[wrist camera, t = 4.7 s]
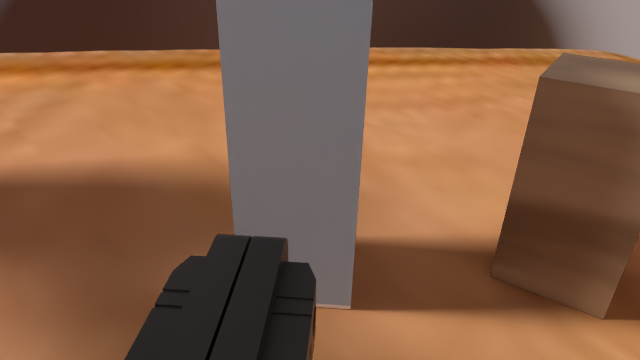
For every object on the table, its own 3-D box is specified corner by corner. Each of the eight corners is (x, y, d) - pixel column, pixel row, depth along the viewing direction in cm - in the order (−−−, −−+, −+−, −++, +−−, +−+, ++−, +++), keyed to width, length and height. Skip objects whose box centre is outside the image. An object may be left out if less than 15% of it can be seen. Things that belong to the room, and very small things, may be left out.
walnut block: (603, 319, 21) (694, 102, 16) (489, 275, 23) (539, 76, 18) (615, 261, 24) (692, 71, 20) (516, 229, 27) (563, 52, 22)
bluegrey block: (350, 309, 21) (387, -204, 12) (239, 301, 21) (200, -206, 13) (352, 242, 25) (380, -171, 17) (260, 237, 26) (241, -173, 17)
